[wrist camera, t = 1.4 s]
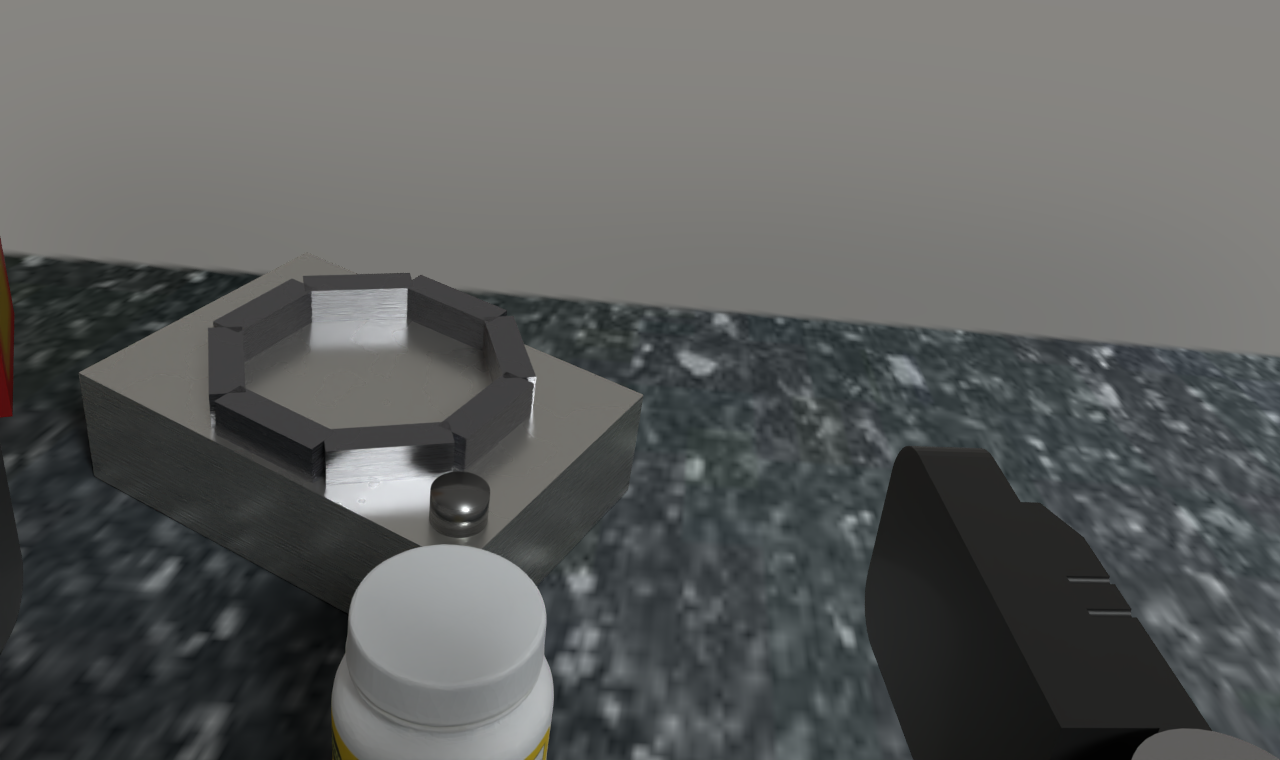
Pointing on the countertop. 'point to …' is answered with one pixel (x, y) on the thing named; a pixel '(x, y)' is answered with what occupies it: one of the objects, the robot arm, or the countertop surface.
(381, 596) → the supplement bottle
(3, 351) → the baking soda box
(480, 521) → the octagon ring base plate
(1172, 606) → the countertop surface
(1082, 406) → the countertop surface
